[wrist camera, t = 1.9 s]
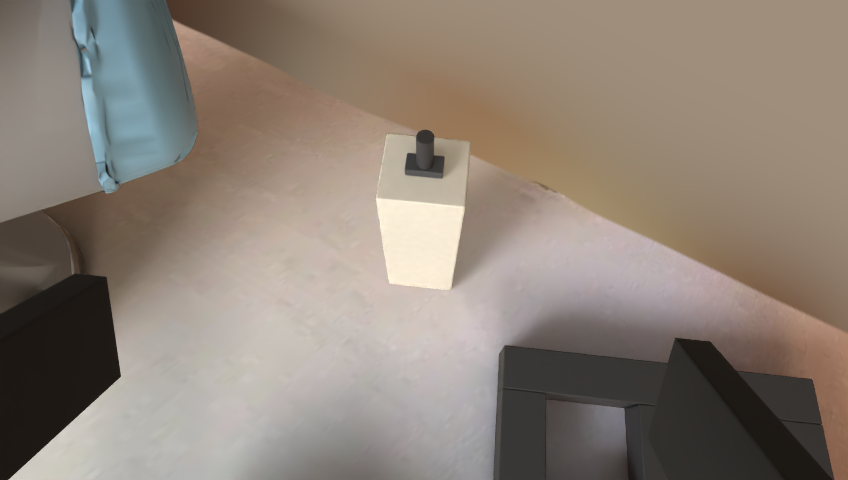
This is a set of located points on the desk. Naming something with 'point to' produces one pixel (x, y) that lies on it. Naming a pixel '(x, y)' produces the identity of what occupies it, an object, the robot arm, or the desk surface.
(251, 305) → the desk surface
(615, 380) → the black frame base
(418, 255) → the white tall block
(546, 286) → the desk surface
